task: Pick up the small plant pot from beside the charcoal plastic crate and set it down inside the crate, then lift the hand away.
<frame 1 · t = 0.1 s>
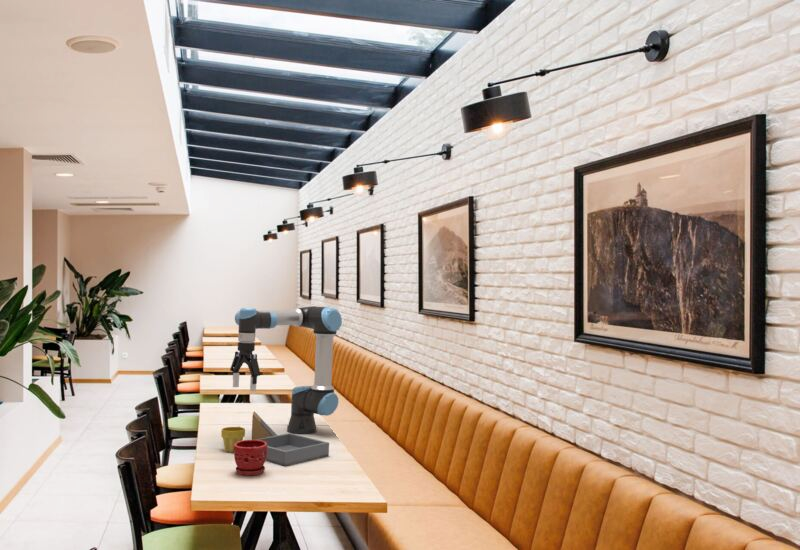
hand: (244, 389, 323), 28 cm above the table, tool pointing down, fingers open, 13 cm apart
plant pot: (232, 450, 323), on the table
sandwich container: (268, 444, 338), on the table
plant pot 2: (249, 473, 287), on the table
crate: (286, 455, 318), on the table
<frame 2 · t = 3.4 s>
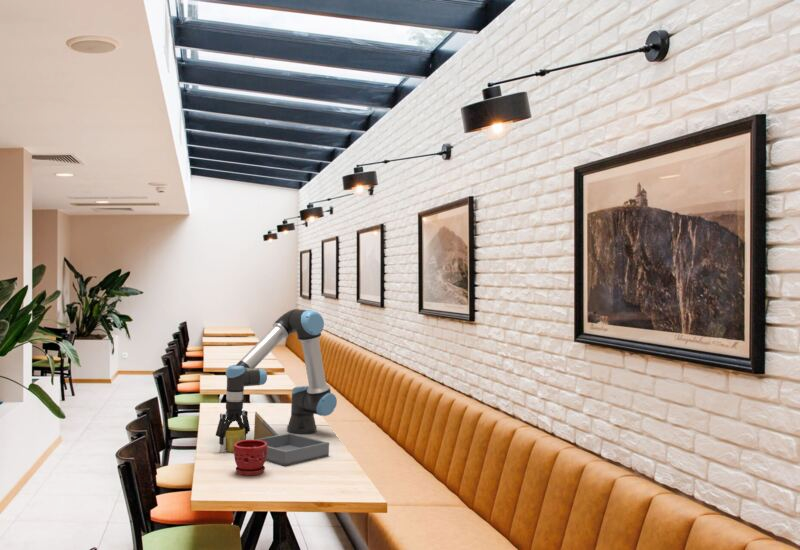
hand: (232, 449, 323), 0 cm above the table, tool pointing down, fingers closed on plant pot, 10 cm apart
plant pot: (232, 450, 323), on the table, touching gripper
sandwich container: (270, 445, 337), on the table
everything else where it was.
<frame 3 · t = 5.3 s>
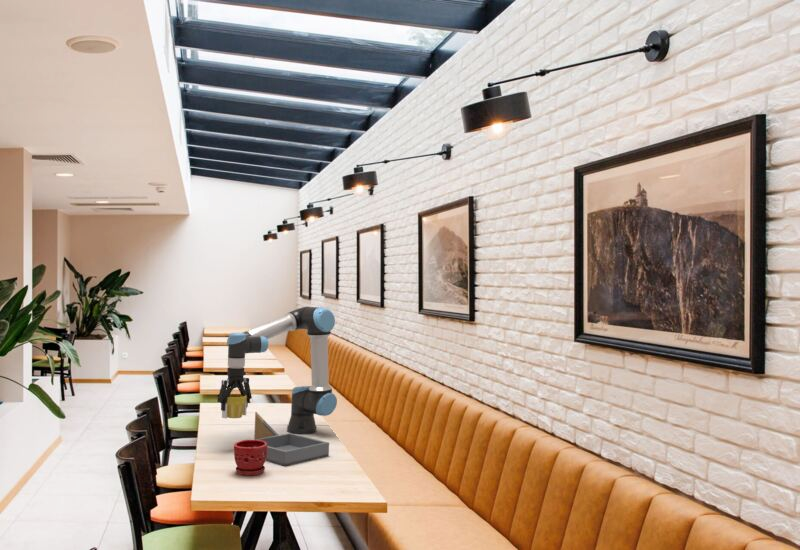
hand: (234, 416, 323), 15 cm above the table, tool pointing down, fingers closed on plant pot, 10 cm apart
plant pot: (234, 417, 323), point 15 cm above the table, touching gripper
everything else where it was.
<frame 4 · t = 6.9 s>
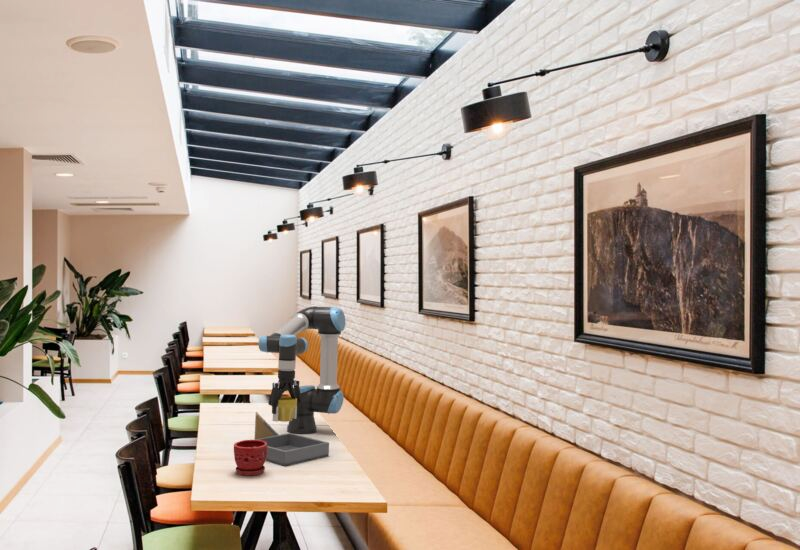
hand: (284, 419, 318), 16 cm above the table, tool pointing down, fingers closed on plant pot, 10 cm apart
plant pot: (284, 420, 318), point 15 cm above the table, touching gripper
everything else where it was.
when the fingers open (3 cm above the table, at t = 10.4 s): plant pot drops 2 cm, resting on crate.
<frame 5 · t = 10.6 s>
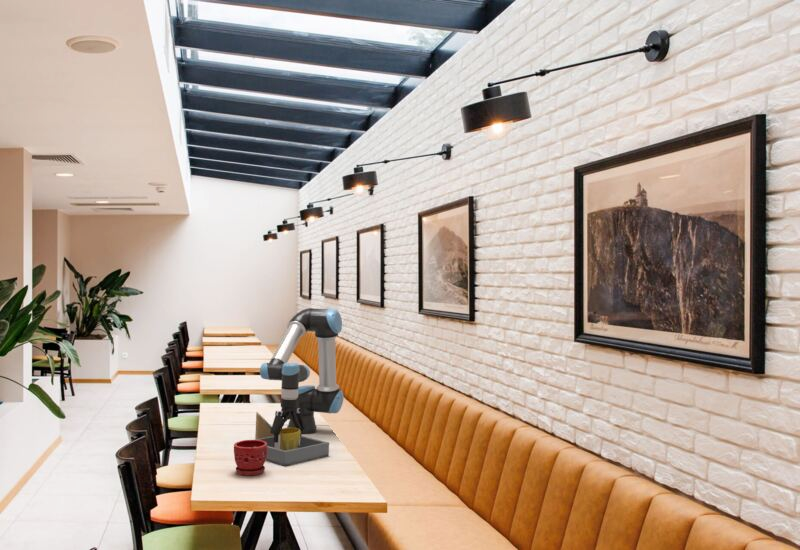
hand: (287, 447, 318), 4 cm above the table, tool pointing down, fingers open, 11 cm apart
plant pot: (289, 452, 319), point 1 cm above the table, touching crate, gripper
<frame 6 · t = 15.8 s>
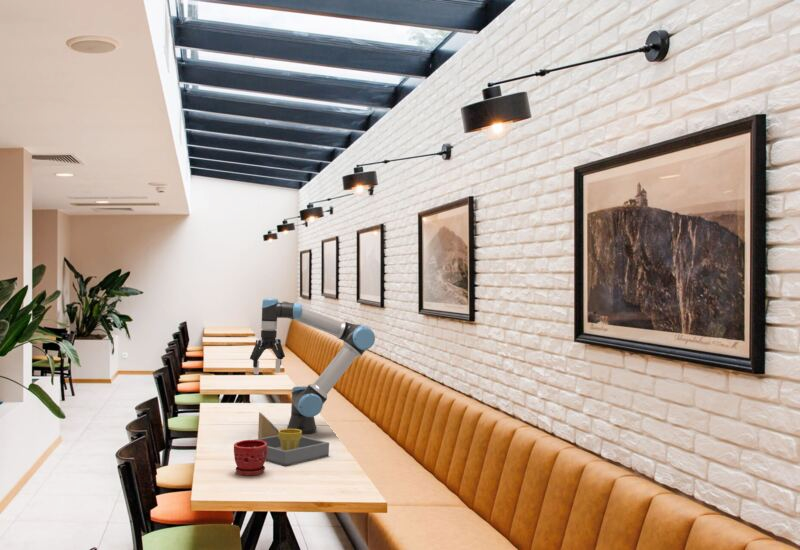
hand: (267, 373, 350), 32 cm above the table, tool pointing down, fingers open, 13 cm apart
plant pot: (289, 453, 319), point 1 cm above the table, touching crate
sandwich container: (275, 445, 338), on the table
everything else where it was.
at the end: plant pot inside the target area on the crate (1.3 cm from its centre), point 0.8 cm above the crate's base; plant pot tilted 0°; the gripper is holding nothing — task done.
